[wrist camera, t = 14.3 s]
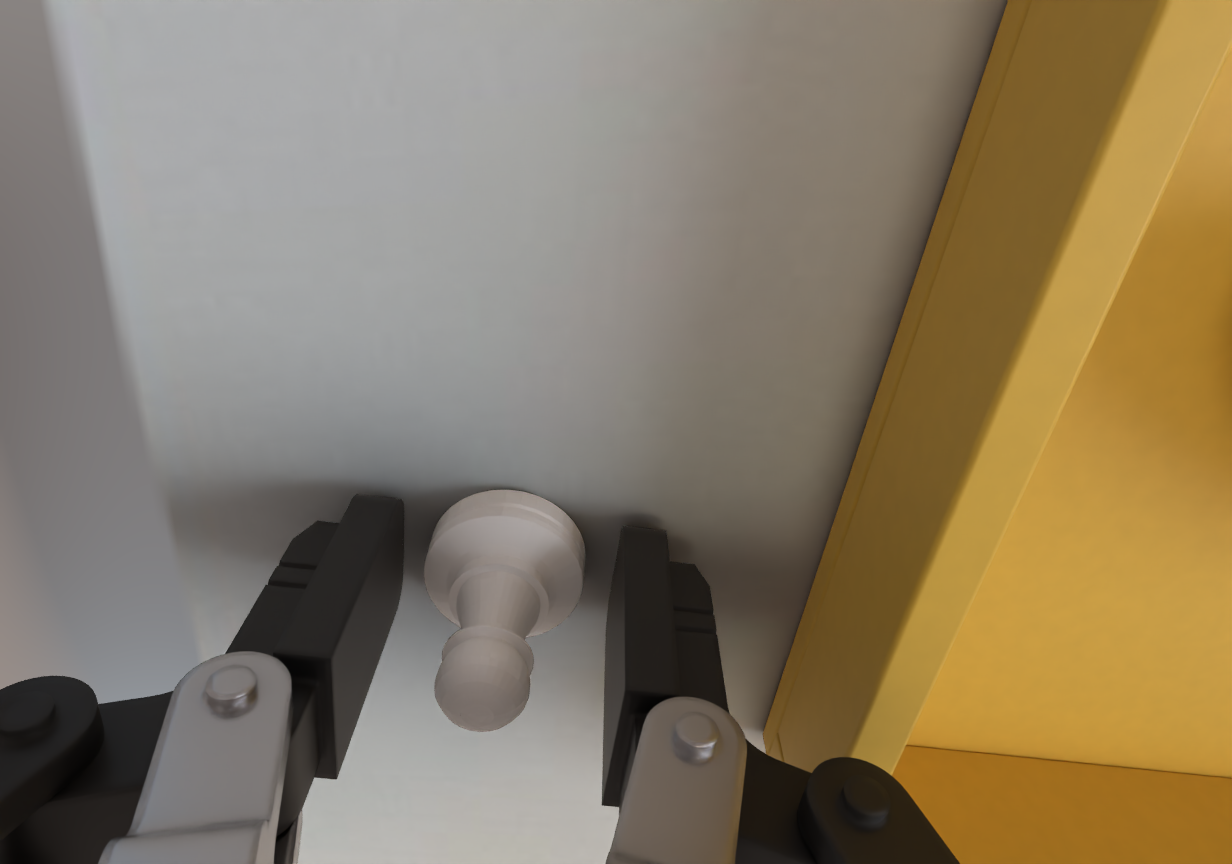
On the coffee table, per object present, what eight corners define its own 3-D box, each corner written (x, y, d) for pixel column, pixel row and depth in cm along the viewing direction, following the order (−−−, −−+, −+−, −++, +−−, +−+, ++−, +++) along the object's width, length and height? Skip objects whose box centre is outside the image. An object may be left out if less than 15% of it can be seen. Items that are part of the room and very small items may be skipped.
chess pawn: (583, 610, 14) (573, 784, 11) (437, 605, 14) (387, 778, 11) (587, 488, 13) (578, 647, 10) (427, 482, 13) (366, 640, 10)
